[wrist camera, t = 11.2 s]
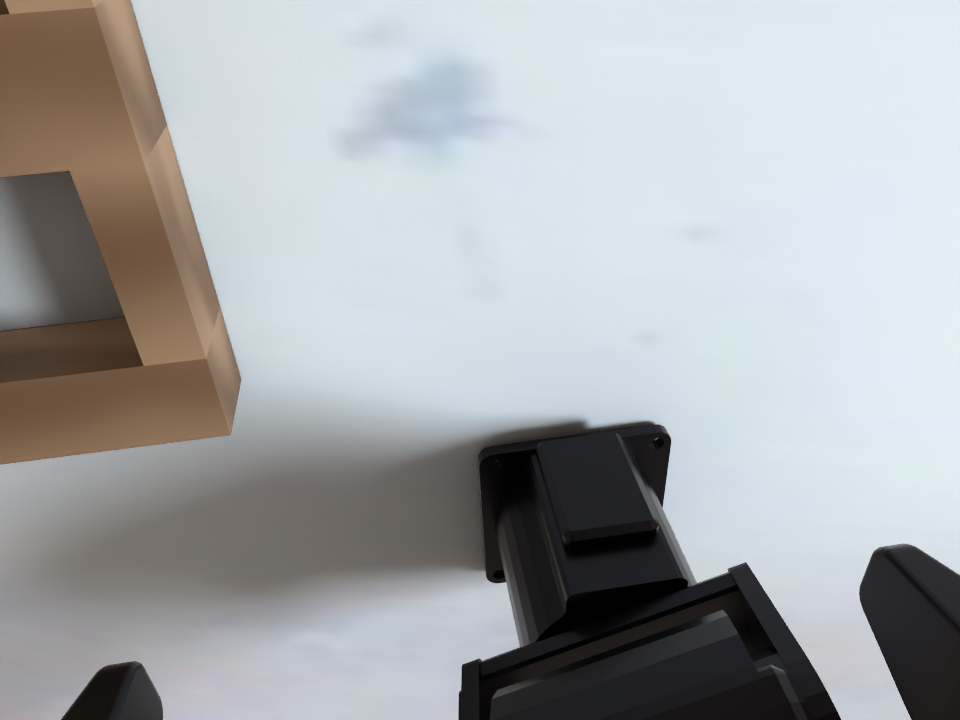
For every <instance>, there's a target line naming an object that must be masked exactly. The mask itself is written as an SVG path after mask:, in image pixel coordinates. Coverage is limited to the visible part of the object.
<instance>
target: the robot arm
mask: <svg viewBox="0 0 960 720" xmlns="http://www.w3.org/2000/svg"><path fill="white" fill-rule="evenodd" d="M656 438H658V439H657V440H656V441H653V442H651V441H652V440H653V439H656ZM670 446H671V437H670V436H669V434H668V432H667V430H666V429H665V427H664V426H661V425H648V426H640V427H633V428H625V429H618V430H611V431H603V432H596V433H588V434H581V435H573V436H566V437H558V438H551V439H543V440H536V441H528V442H521V443H514V444H506V445H499V446H491V447H488V448H485V449H484V450H482V451H481V452H480V454H479V455H478V459H477V461H478V476H479V490H480V505H481V519H482V534H483V549H484V563H485V571H486V577H487V579H488V580H489V581H490V582H493V583H504V582H506V583H507V587H508V592H509V597H510V601H511V606H512V611H513V616H514V620H515V625H516V630H517V635H518V639H519V644H520V648H517V649H514V650H511V651H509V652H506V653H503V654H500V655H497V656H495V657H492V658H489V659H486V660H484V661H481V659H477V660H474V661H471V662H469V663H466V664H463V665H462V686H461V691H460V692H459V720H841V718H840V716H839V714H838V712H837V710H836V708H835V706H834V704H833V702H832V700H831V698H830V696H829V694H828V693H827V691H826V689H825V687H824V685H823V683H822V682H821V680H820V678H819V676H818V674H817V673H816V671H815V669H814V668H813V666H812V664H811V663H810V661H809V659H808V658H807V656H806V655H805V653H804V651H803V650H802V648H801V647H800V645H799V644H798V642H797V641H796V639H795V637H794V636H793V634H792V633H791V631H790V630H789V628H788V627H787V625H786V623H785V622H784V620H783V619H782V617H781V616H780V614H779V613H778V611H777V610H776V608H775V606H774V605H773V603H772V602H771V600H770V599H769V597H768V596H767V594H766V592H765V591H764V589H763V588H762V586H761V585H760V583H759V582H758V580H757V578H756V577H755V575H754V574H753V572H752V571H751V569H750V568H749V566H748V565H747V563H746V562H745V563H743V564H740V565H737V566H734V567H732V568H729V569H728V572H727V573H725V574H722V575H719V576H716V577H714V578H711V579H708V580H705V581H702V582H700V583H697V582H696V580H695V578H694V576H693V574H692V571H691V569H690V567H689V565H688V563H687V561H686V558H685V556H684V554H683V552H682V550H681V548H680V545H679V543H678V541H677V539H676V537H675V535H674V532H673V530H672V528H671V526H670V524H669V522H668V520H667V517H666V515H665V513H664V511H663V509H662V507H663V499H664V492H665V484H666V477H667V469H668V462H669V454H670ZM493 460H498V461H497V462H495V463H489V462H490V461H493ZM859 595H860V601H861V605H862V608H863V610H864V613H865V615H866V617H867V619H868V622H869V624H870V626H871V629H872V631H873V633H874V635H875V638H876V640H877V642H878V645H879V647H880V649H881V652H882V654H883V656H884V658H885V661H886V663H887V665H888V668H889V670H890V672H891V675H892V677H893V679H894V681H895V684H896V686H897V688H898V691H899V693H900V695H901V697H902V700H903V702H904V704H905V706H906V709H907V711H908V713H909V715H910V717H911V719H912V720H960V575H959V574H957V573H956V572H954V571H953V570H951V569H950V568H948V567H947V566H945V565H943V564H942V563H940V562H939V561H937V560H936V559H934V558H933V557H931V556H929V555H928V554H926V553H925V552H923V551H922V550H920V549H918V548H917V547H915V546H912V545H909V544H898V545H891V546H885V547H880V548H878V549H876V550H875V551H874V552H873V554H872V556H871V559H870V562H869V564H868V567H867V569H866V572H865V575H864V577H863V580H862V582H861V585H860V592H859ZM61 720H163V708H162V702H161V699H160V696H159V694H158V693H157V691H156V689H155V687H154V685H153V683H152V681H151V680H150V678H149V676H148V674H147V672H146V670H145V668H144V667H143V665H142V664H140V663H139V662H137V661H133V662H126V663H119V664H113V665H108V666H105V667H103V668H102V669H100V670H99V671H98V672H97V673H96V674H95V675H94V676H93V678H92V679H91V680H90V682H89V683H88V684H87V686H86V687H85V688H84V690H83V691H82V692H81V694H80V695H79V696H78V698H77V699H76V700H75V702H74V703H73V704H72V706H71V707H70V708H69V710H68V711H67V712H66V714H65V715H64V716H63V718H62V719H61Z"/></svg>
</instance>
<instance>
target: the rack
mask: <svg viewBox="0 0 960 720" xmlns="http://www.w3.org/2000/svg"><path fill="white" fill-rule="evenodd" d="M61 171H70V174H71V176H72V179H73V182H74V184H75V187H76V189H77V192H78V195H79V197H80V200H81V203H82V205H83V208H84V210H85V213H86V216H87V218H88V221H89V224H90V226H91V229H92V231H93V234H94V237H95V239H96V242H97V245H98V247H99V250H100V252H101V255H102V258H103V260H104V263H105V266H106V268H107V271H108V273H109V276H110V279H111V281H112V284H113V287H114V289H115V292H116V294H117V297H118V300H119V302H120V305H121V307H122V310H123V313H124V315H125V317H123V318H114V319H106V320H97V321H88V322H79V323H70V324H62V325H53V326H44V327H35V328H27V329H18V330H9V331H0V465H1V464H9V463H16V462H24V461H32V460H40V459H47V458H55V457H63V456H71V455H78V454H86V453H94V452H102V451H109V450H117V449H125V448H133V447H141V446H148V445H156V444H164V443H172V442H179V441H187V440H195V439H203V438H210V437H218V436H226V435H231V430H232V425H233V420H234V415H235V409H236V404H237V399H238V394H239V388H240V383H241V377H240V373H239V370H238V367H237V363H236V360H235V356H234V353H233V349H232V346H231V343H230V339H229V336H228V332H227V329H226V325H225V322H224V319H223V315H222V312H221V308H220V305H219V301H218V298H217V295H216V291H215V288H214V284H213V281H212V277H211V274H210V271H209V267H208V264H207V260H206V257H205V253H204V250H203V247H202V243H201V240H200V236H199V233H198V229H197V226H196V223H195V219H194V216H193V212H192V209H191V205H190V202H189V199H188V195H187V192H186V188H185V185H184V181H183V178H182V175H181V171H180V168H179V164H178V161H177V157H176V154H175V151H174V147H173V144H172V140H171V137H170V133H169V130H168V127H167V123H166V120H165V116H164V113H163V109H162V106H161V103H160V99H159V96H158V92H157V89H156V85H155V82H154V79H153V75H152V72H151V68H150V65H149V61H148V58H147V55H146V51H145V48H144V44H143V41H142V37H141V34H140V31H139V27H138V24H137V20H136V17H135V13H134V10H133V7H132V3H131V0H0V177H9V176H19V175H30V174H40V173H50V172H61Z"/></svg>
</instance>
